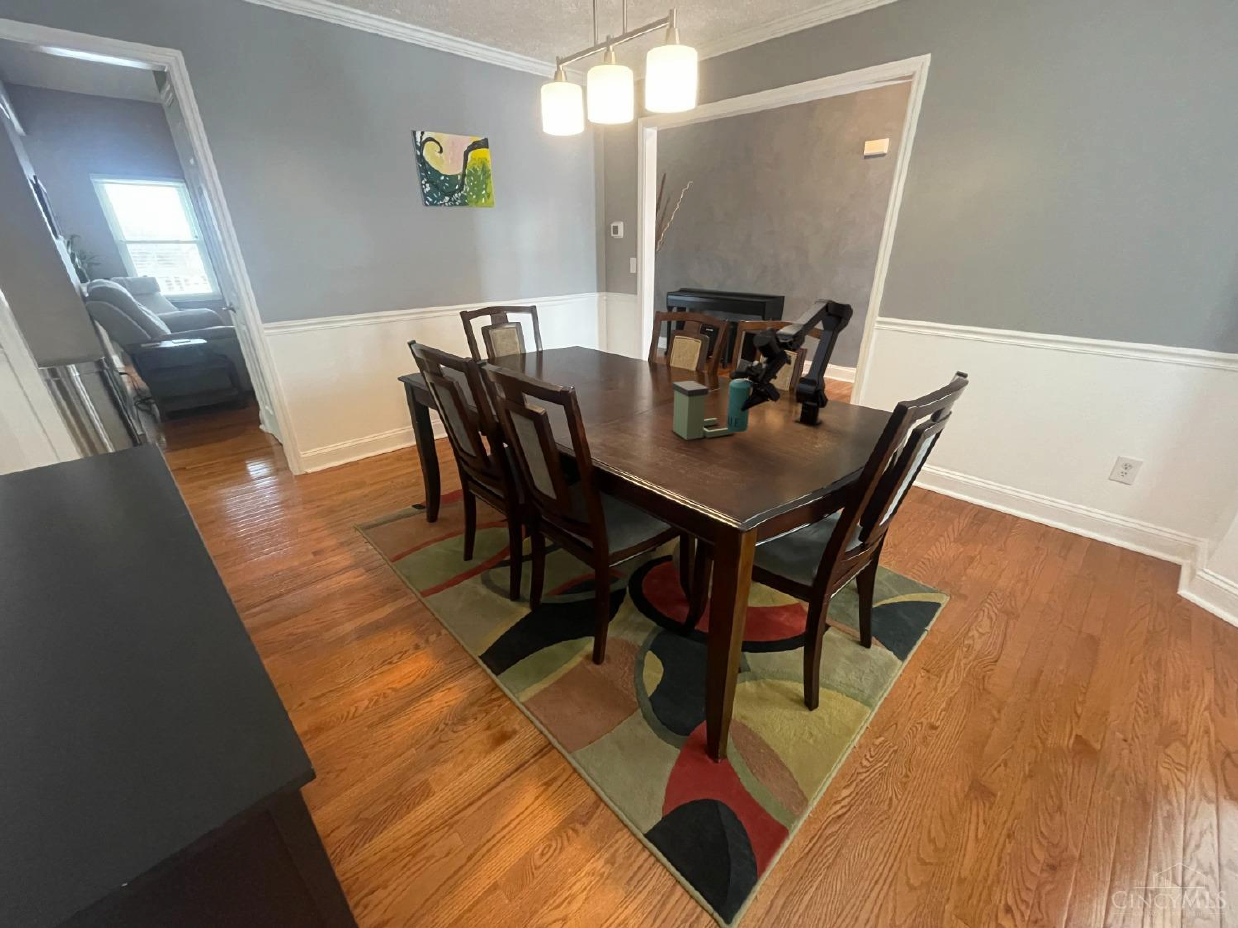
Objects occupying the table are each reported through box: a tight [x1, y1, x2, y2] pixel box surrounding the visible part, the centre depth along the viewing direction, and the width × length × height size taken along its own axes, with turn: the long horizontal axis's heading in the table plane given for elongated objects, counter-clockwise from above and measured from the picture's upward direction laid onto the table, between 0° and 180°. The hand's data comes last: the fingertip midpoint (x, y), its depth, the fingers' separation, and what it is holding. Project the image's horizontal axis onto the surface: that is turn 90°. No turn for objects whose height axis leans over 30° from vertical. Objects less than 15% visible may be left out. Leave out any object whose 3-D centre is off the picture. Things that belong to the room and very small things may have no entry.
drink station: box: [672, 380, 734, 441], centre depth 156 cm, size 17×11×16 cm, turn 112°
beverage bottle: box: [726, 368, 752, 433], centre depth 146 cm, size 6×7×20 cm
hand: (735, 407), depth 146 cm, fingers closed on beverage bottle, 6 cm apart
